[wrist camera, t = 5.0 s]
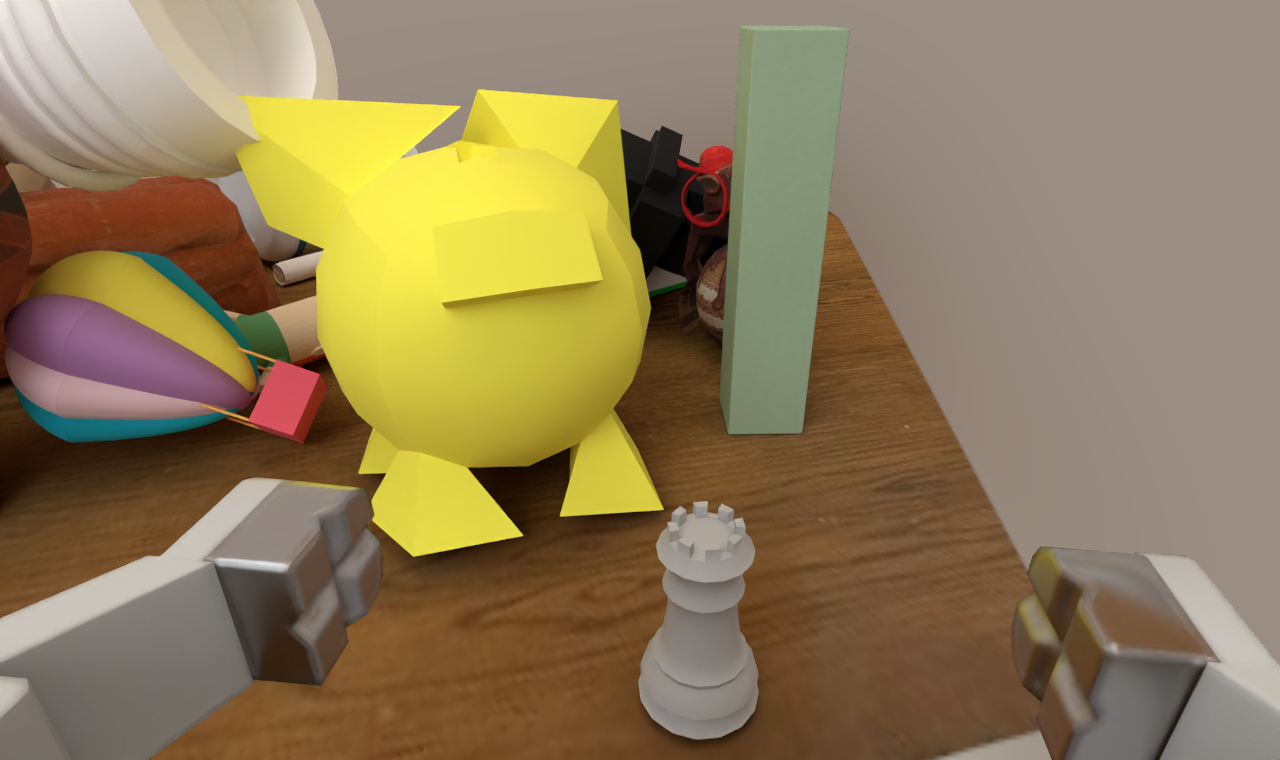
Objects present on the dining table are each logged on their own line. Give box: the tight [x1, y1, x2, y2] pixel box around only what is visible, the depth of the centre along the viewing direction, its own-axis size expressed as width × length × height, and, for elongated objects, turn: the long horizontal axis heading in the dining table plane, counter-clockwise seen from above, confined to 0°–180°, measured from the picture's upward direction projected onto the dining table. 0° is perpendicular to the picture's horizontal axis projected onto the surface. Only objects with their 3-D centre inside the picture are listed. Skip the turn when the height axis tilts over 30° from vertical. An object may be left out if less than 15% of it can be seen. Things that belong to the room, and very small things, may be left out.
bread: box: [0, 176, 281, 379], centre depth 55 cm, size 16×27×11 cm, turn 128°
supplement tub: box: [218, 147, 418, 261], centre depth 75 cm, size 12×12×17 cm
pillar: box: [719, 26, 849, 434], centre depth 41 cm, size 4×4×22 cm
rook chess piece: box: [639, 501, 759, 740], centre depth 26 cm, size 4×4×8 cm
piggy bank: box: [235, 89, 664, 557], centre depth 37 cm, size 20×20×19 cm
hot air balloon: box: [4, 251, 328, 443], centre depth 41 cm, size 11×15×11 cm
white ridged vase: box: [0, 0, 338, 192], centre depth 36 cm, size 13×13×18 cm
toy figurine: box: [224, 296, 326, 394], centre depth 51 cm, size 8×4×12 cm
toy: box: [621, 126, 730, 279], centre depth 57 cm, size 12×8×15 cm
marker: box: [272, 251, 323, 285], centre depth 73 cm, size 18×2×2 cm, turn 143°
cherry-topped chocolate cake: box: [677, 146, 733, 343], centre depth 52 cm, size 9×8×15 cm
